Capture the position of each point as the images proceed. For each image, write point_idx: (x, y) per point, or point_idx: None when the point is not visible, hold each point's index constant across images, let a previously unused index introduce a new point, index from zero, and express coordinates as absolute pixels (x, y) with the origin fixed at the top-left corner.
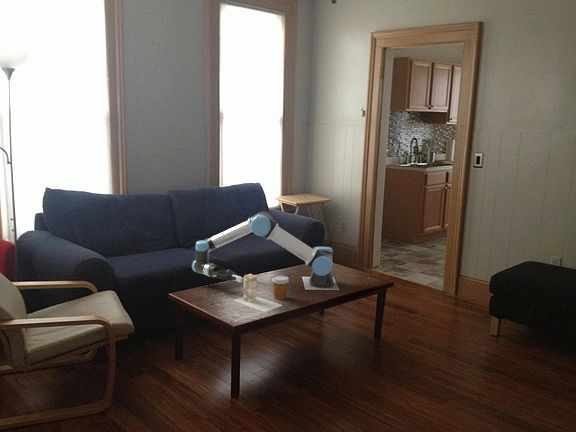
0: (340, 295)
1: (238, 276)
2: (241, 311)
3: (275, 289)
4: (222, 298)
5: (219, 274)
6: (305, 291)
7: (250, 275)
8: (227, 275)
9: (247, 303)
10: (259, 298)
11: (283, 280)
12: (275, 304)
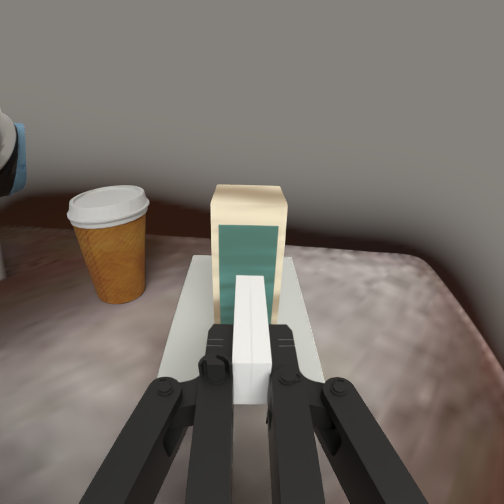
0: (36, 228)
1: (244, 299)
2: (359, 296)
3: (143, 246)
4: None
5: (415, 490)
6: (18, 273)
7: (241, 194)
8: (337, 383)
9: (287, 323)
10: (184, 328)
11: (133, 187)
12: (203, 267)
